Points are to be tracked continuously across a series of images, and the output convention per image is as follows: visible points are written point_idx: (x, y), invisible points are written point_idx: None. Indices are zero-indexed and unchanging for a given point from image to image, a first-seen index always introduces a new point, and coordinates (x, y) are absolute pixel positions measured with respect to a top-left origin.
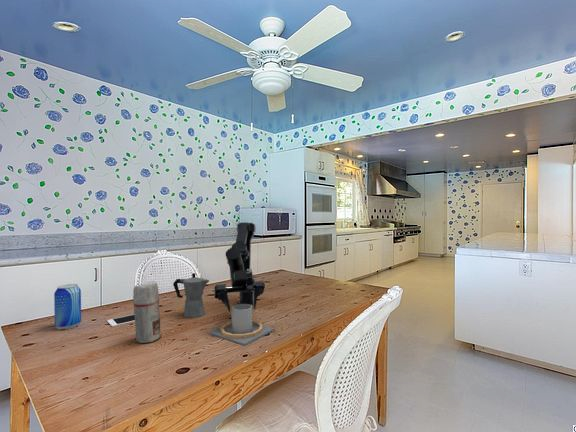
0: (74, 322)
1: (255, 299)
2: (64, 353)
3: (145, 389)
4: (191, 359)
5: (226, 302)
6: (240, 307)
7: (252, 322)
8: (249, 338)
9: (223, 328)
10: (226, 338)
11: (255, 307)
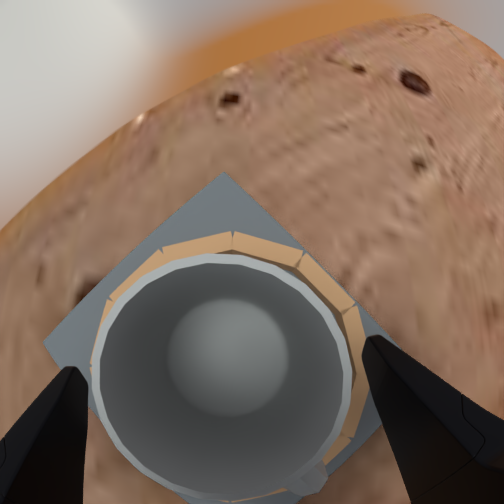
0: None
1: (19, 432)
2: None
3: (445, 55)
4: (420, 128)
5: (449, 390)
6: (239, 475)
7: None
8: (191, 232)
9: (354, 377)
10: (325, 271)
11: (65, 367)
